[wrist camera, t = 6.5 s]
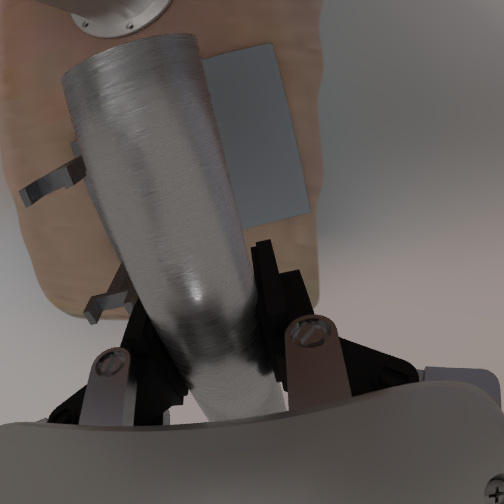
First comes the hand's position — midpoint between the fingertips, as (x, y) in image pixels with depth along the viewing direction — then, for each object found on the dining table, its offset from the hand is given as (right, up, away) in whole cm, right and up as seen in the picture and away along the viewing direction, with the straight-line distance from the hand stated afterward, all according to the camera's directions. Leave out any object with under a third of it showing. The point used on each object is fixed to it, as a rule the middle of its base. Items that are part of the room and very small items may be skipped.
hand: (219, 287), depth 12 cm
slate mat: (+1, +14, +21) cm, 25 cm away
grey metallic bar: (0, -1, -2) cm, 3 cm away
